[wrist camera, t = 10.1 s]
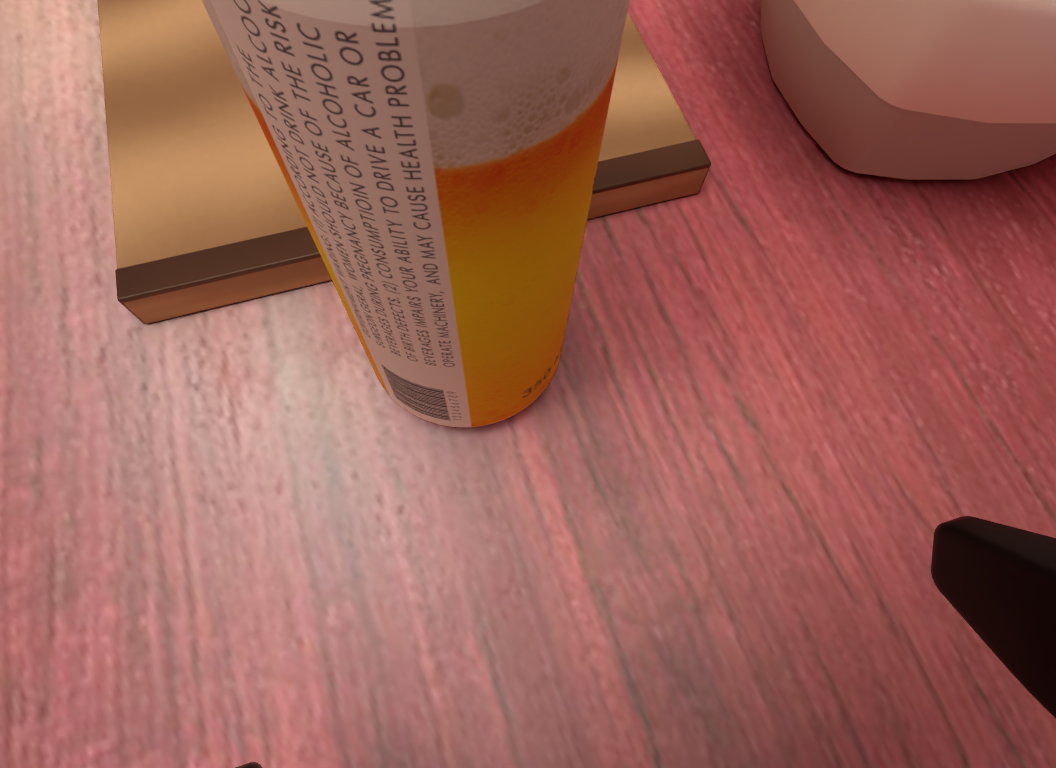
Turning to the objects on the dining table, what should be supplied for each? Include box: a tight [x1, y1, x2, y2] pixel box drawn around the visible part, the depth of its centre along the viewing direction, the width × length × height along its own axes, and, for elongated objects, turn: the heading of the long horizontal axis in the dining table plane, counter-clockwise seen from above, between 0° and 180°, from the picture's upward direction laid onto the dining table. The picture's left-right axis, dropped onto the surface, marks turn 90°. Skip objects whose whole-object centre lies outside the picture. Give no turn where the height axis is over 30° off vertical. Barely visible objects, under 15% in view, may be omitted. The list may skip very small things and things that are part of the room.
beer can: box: [202, 0, 629, 427], centre depth 14 cm, size 6×6×15 cm
